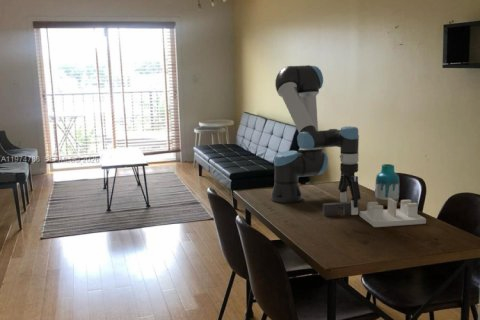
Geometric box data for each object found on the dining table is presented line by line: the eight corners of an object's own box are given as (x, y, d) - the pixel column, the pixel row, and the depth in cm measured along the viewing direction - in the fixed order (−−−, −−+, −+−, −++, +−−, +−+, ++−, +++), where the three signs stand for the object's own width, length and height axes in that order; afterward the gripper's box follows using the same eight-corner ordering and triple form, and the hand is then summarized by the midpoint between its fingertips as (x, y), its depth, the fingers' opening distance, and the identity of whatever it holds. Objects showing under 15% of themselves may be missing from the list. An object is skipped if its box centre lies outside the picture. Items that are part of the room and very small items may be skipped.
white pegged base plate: (359, 215, 216) (359, 196, 214) (407, 212, 219) (407, 193, 217) (374, 227, 200) (375, 206, 199) (425, 223, 203) (426, 203, 202)
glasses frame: (322, 214, 219) (322, 203, 218) (356, 212, 221) (356, 201, 220) (324, 216, 216) (324, 205, 215) (358, 213, 219) (358, 202, 218)
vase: (390, 210, 223) (391, 168, 219) (370, 205, 230) (371, 165, 227) (403, 205, 229) (404, 164, 226) (383, 201, 237) (384, 162, 234)
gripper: (331, 158, 227) (331, 203, 230) (351, 168, 202) (351, 218, 206) (347, 157, 228) (346, 202, 231) (369, 167, 203) (368, 217, 207)
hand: (348, 210), depth 218 cm, fingers open, 13 cm apart
